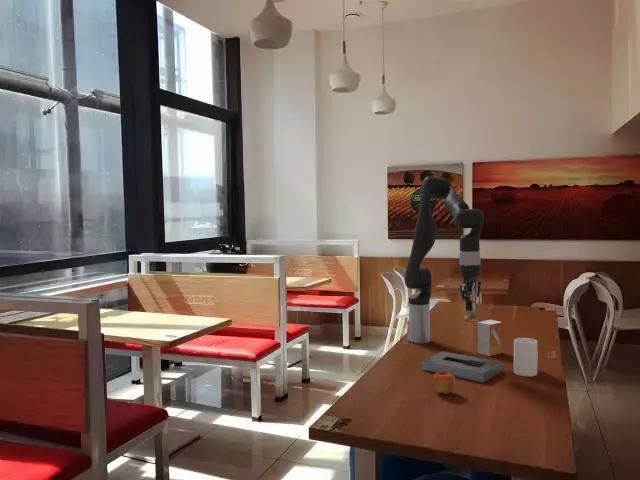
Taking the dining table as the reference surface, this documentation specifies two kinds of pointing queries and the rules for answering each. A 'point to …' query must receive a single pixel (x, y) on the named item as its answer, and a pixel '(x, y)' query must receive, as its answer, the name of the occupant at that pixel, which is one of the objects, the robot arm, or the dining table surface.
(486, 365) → the keyhole plate
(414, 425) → the dining table surface
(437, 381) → the apple
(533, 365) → the mug
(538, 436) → the dining table surface
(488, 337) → the small box
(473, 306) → the stud
